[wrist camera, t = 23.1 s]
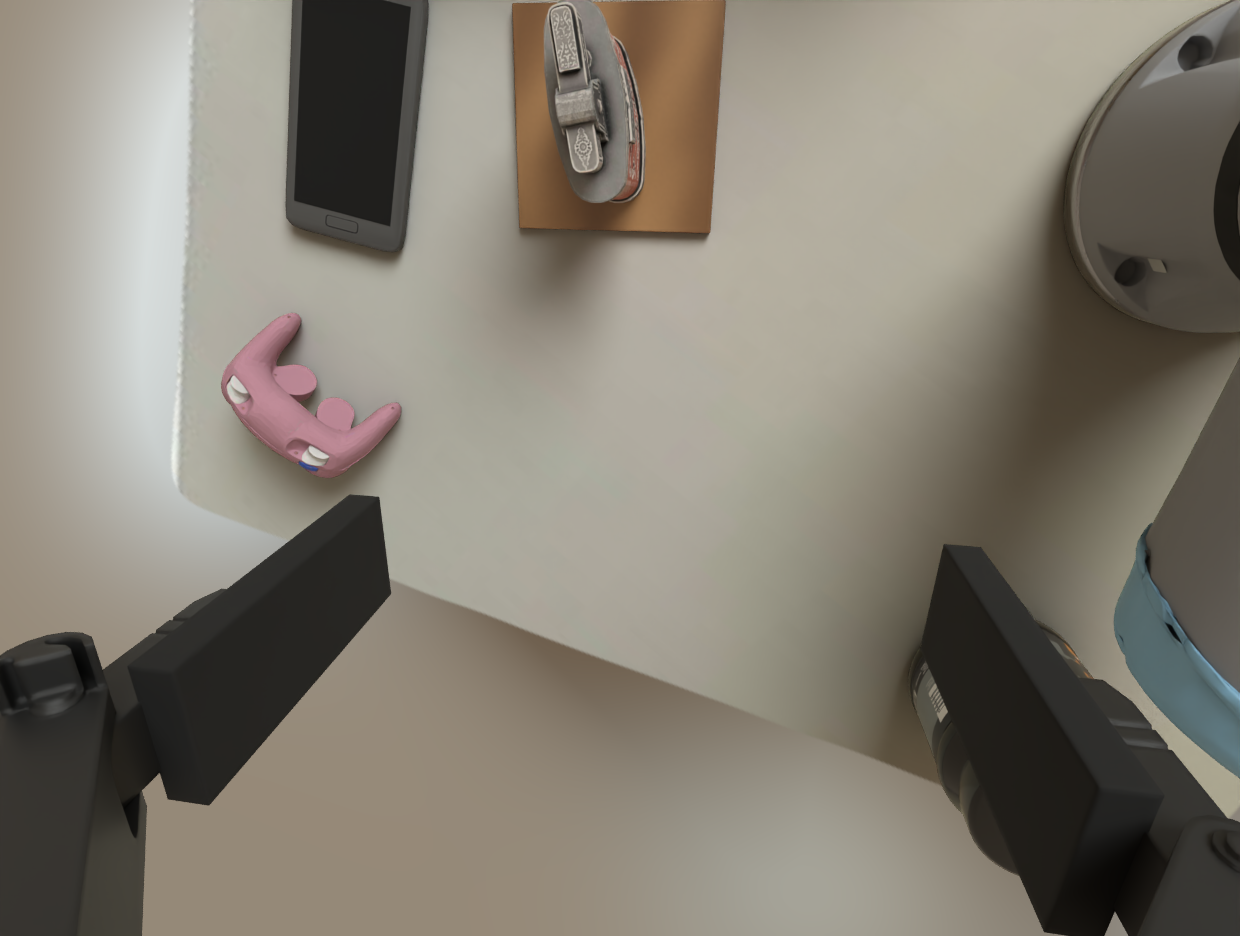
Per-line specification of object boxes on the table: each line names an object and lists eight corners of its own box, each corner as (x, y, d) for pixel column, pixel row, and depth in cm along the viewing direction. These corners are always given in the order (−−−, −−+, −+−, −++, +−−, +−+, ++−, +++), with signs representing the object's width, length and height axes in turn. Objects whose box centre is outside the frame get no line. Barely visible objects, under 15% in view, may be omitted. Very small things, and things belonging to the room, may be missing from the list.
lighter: (654, 197, 37) (630, 195, 28) (595, 207, 38) (552, 209, 29) (632, 30, 34) (597, -33, 25) (569, 44, 35) (512, -12, 26)
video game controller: (280, 340, 46) (193, 396, 41) (292, 300, 42) (198, 356, 38) (392, 438, 47) (320, 502, 43) (412, 407, 44) (336, 473, 39)
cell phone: (291, 224, 41) (283, 225, 40) (301, -46, 36) (293, -51, 35) (404, 255, 41) (398, 256, 40) (432, -13, 35) (426, -18, 35)
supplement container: (1064, 731, 46) (1171, 897, 35) (903, 732, 48) (955, 890, 37) (1078, 600, 43) (1202, 739, 32) (903, 607, 45) (962, 740, 33)
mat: (725, 2, 34) (725, -1, 33) (710, 232, 38) (710, 233, 37) (514, 5, 35) (511, 2, 35) (521, 227, 39) (519, 227, 39)
